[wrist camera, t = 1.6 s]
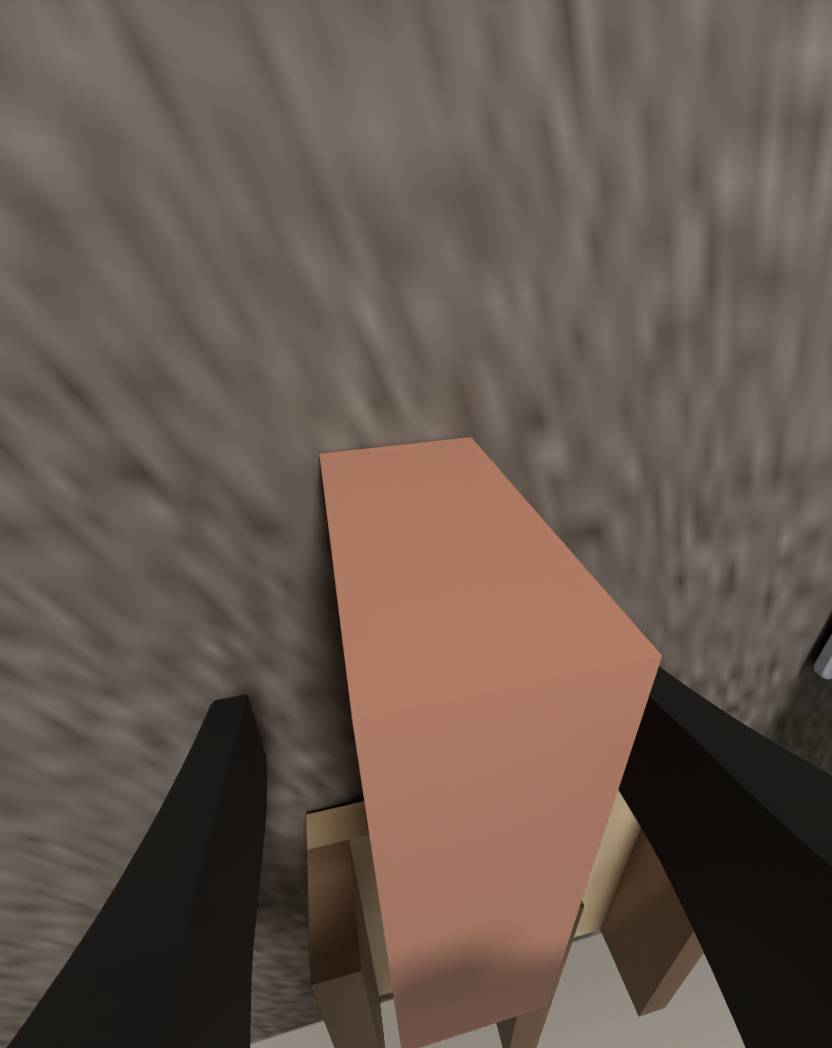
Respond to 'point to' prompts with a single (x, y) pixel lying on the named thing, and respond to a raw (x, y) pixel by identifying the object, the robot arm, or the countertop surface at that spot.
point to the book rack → (608, 905)
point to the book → (476, 724)
